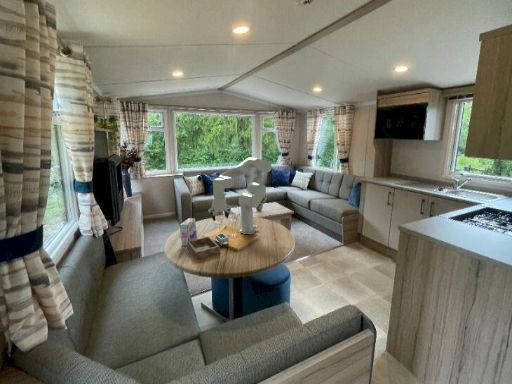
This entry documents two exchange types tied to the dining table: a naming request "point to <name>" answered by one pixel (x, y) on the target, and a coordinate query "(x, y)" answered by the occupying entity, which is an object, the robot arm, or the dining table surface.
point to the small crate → (224, 239)
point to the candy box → (188, 231)
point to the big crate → (203, 247)
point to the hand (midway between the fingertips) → (220, 219)
